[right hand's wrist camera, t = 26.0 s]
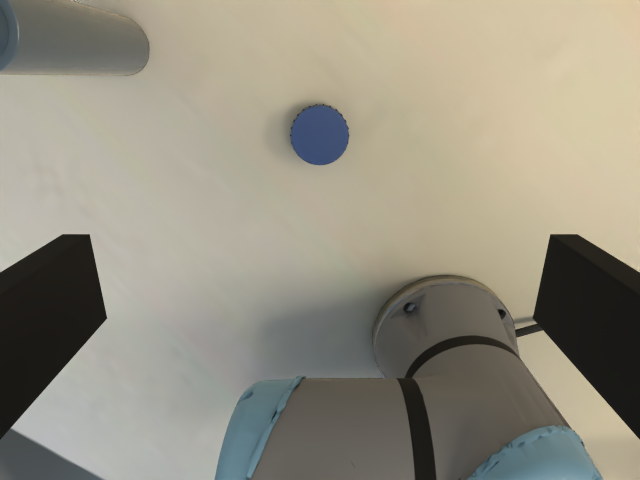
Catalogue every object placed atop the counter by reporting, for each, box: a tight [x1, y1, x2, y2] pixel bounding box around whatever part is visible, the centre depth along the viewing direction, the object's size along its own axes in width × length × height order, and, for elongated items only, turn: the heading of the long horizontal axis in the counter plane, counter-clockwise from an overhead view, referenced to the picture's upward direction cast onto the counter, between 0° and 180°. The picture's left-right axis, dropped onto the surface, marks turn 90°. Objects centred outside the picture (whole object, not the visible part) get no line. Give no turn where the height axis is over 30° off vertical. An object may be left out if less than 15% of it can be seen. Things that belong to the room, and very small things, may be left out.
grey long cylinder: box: [0, 0, 149, 76], centre depth 28 cm, size 5×5×19 cm
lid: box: [290, 104, 349, 165], centre depth 39 cm, size 5×5×2 cm
